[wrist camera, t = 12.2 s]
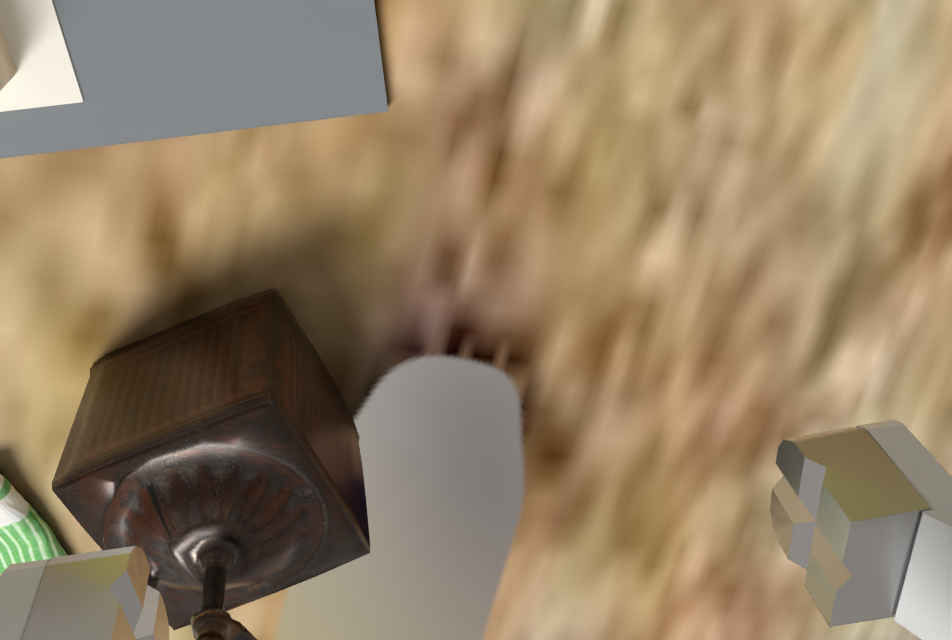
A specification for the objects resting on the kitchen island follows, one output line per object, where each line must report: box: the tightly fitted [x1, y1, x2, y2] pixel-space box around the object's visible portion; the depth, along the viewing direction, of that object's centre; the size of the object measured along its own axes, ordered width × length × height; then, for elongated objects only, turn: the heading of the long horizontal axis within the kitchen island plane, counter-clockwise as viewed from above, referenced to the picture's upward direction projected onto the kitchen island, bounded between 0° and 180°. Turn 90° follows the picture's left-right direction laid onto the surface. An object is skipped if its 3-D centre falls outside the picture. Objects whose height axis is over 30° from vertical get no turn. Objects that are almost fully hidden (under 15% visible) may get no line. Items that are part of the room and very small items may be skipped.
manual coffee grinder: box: [52, 289, 370, 640], centre depth 41 cm, size 16×11×18 cm
